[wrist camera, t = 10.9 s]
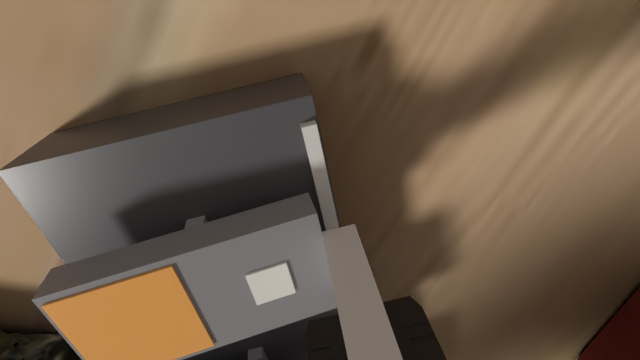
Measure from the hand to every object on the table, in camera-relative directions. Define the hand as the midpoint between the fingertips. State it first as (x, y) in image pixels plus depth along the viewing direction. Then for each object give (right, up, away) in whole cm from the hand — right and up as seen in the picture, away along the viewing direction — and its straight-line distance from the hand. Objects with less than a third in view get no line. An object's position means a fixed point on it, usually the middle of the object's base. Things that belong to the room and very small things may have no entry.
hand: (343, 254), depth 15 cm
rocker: (-6, -1, 0) cm, 6 cm away
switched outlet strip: (-5, -6, +10) cm, 13 cm away
